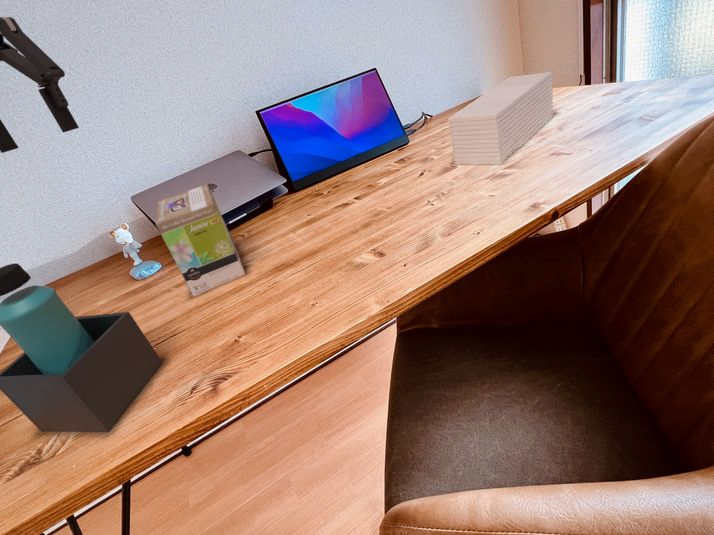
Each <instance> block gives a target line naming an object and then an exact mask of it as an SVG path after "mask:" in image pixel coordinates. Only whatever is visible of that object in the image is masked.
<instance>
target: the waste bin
mask: <svg viewBox="0 0 714 535" xmlns="http://www.w3.org/2000/svg"><path fill="white" fill-rule="evenodd" d="M75 317H76V319H77V320H78V321H79V320H80V321H79V322H80V324H82V326H83V328H84V329H85V330H86V332H87V333H88V334H90V337H91V338H92V337H93V341H94V342H95V343H93V344H92V345H91V346H90V347H89V348H88V349H87V350H86V351H85V352H84V353H83V354H82V355H81V356H80V357H79V358H78V359H77V360H76V361H75V362H74V363H73V364H72V365H71V366H70V367H69V368H68V369H67V370H66V371H65V372H64V373H63V374H47V375H44V374H43V373H42V374H41V371H40V370H39V369H37V366H35V364H34V363H33V362H32V361H31V359H30V358H28V356H27V354H26V353H25V352H24V351H23V353H22V354H20V355H19V356H18V357H17V358H16V359H15V360H14V361H12V362H11V363H10V364H9V365H7V366H6V367H5V368H4V369H3V370H2V371H0V391H1V392H2V393H3V394H4V395H5V396H6V398H8V399H9V400H10V401H11V402H12V403H13V405H14V406H16V408H17V409H18V410H19V411H20V412H21V413H22V414H23V415H24V416H25V417H26V418H27V419H28V420H29V421H30V422H31V423H32V424H33V425H34V426H35V427H36V428H37V429H38V431H40V432H42V433H44V432H45V433H46V432H49V433H110V432H111V431H112V430H113V428H114V427H115V426H116V424H118V422H119V421H120V419H121V418H122V417H123V415H124V414H125V413H126V411H128V409H129V408H130V406H131V405H132V404H133V403H134V401H135V400H136V399H137V398H138V396H139V395H140V394H141V393H142V391H143V390H144V388H145V387H146V386H147V385H148V383H149V382H150V381H151V380H152V378H153V377H154V376H155V375H156V373H157V372H158V371H159V370H160V368H161V367H162V365H163V364H164V362H163V361H162V359H161V357H160V356H159V355H158V353H157V352H156V350H155V349H154V347H153V346H152V344H151V343H150V341H149V340H148V339H147V337H146V335H145V334H144V332H143V331H142V330H141V327H139V325H138V323H137V322H136V320H135V319H134V317H133V316H132V314H131V313H130V311H123V312H113V313H103V314H93V315H82V316H75ZM77 317H78V318H77ZM33 365H34V366H33ZM35 367H36V368H35Z"/></svg>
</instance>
